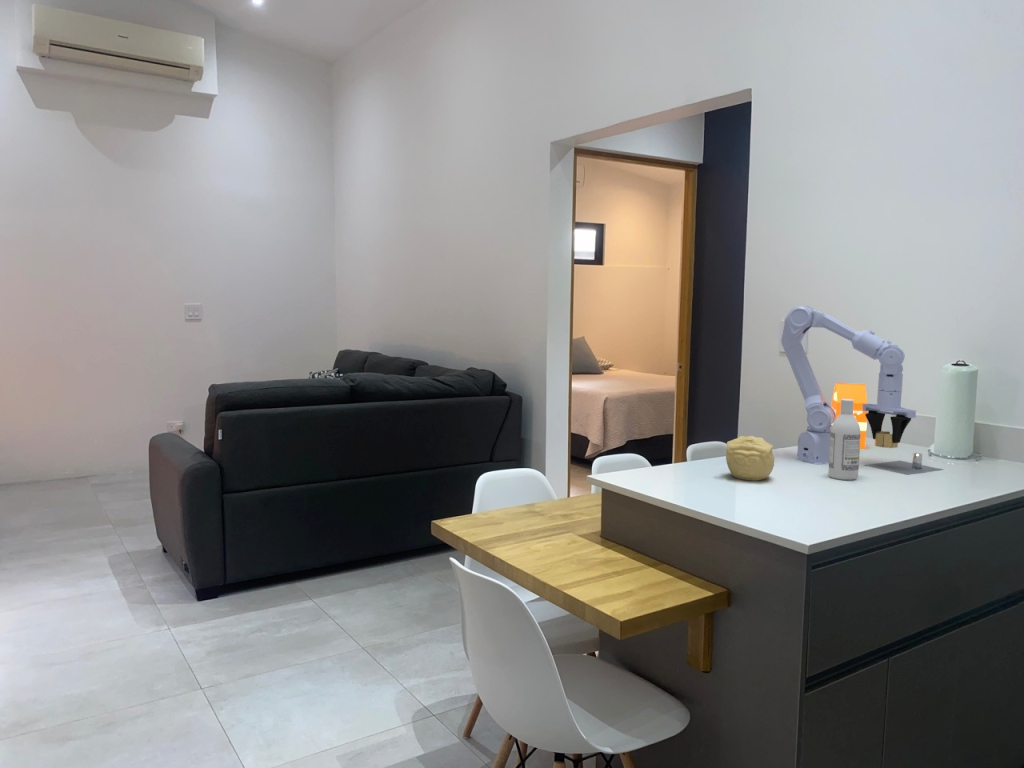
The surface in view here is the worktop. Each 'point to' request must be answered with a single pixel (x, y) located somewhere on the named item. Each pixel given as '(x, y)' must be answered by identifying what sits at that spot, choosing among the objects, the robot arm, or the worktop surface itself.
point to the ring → (884, 440)
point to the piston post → (917, 461)
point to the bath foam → (845, 444)
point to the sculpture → (750, 458)
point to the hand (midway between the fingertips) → (886, 440)
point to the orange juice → (860, 398)
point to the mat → (902, 467)
